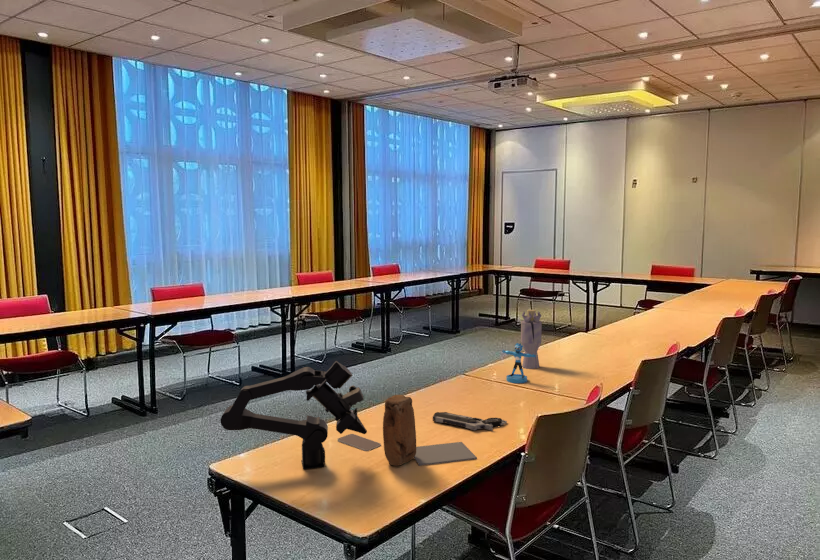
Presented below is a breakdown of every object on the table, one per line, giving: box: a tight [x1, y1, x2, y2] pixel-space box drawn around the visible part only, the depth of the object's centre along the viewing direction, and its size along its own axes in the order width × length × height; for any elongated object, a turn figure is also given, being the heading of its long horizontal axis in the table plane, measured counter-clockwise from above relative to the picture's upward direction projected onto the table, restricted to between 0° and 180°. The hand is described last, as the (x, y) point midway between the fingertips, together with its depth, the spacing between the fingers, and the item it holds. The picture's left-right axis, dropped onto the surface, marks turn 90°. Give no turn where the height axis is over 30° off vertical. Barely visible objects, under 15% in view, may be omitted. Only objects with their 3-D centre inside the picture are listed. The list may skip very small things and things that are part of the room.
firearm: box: [432, 411, 508, 431], centre depth 220 cm, size 3×24×15 cm
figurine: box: [501, 342, 536, 384], centre depth 277 cm, size 18×10×18 cm, turn 52°
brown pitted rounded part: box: [382, 394, 417, 467], centre depth 184 cm, size 11×8×20 cm
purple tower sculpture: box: [520, 309, 543, 370], centre depth 303 cm, size 10×10×30 cm
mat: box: [413, 441, 478, 467], centre depth 190 cm, size 19×14×1 cm
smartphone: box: [337, 433, 382, 452], centre depth 201 cm, size 7×1×15 cm
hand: (366, 432), depth 183 cm, fingers closed
